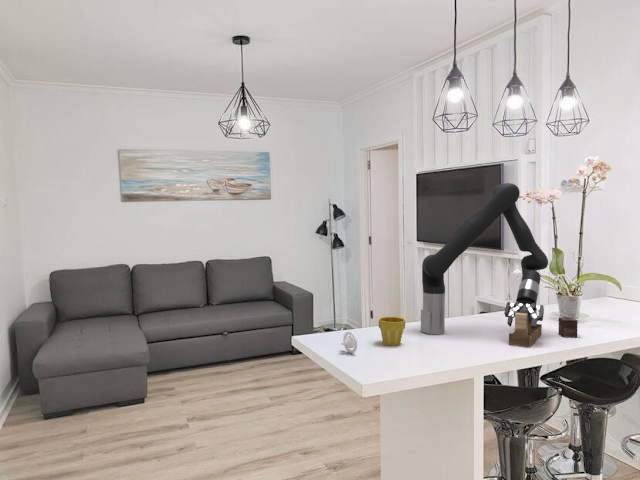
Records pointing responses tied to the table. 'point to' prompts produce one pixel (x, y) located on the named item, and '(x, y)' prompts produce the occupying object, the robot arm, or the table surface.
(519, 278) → the candle
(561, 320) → the box
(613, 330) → the table surface
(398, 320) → the plant pot
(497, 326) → the table surface
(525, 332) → the block
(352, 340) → the ring around a ball
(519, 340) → the rail
